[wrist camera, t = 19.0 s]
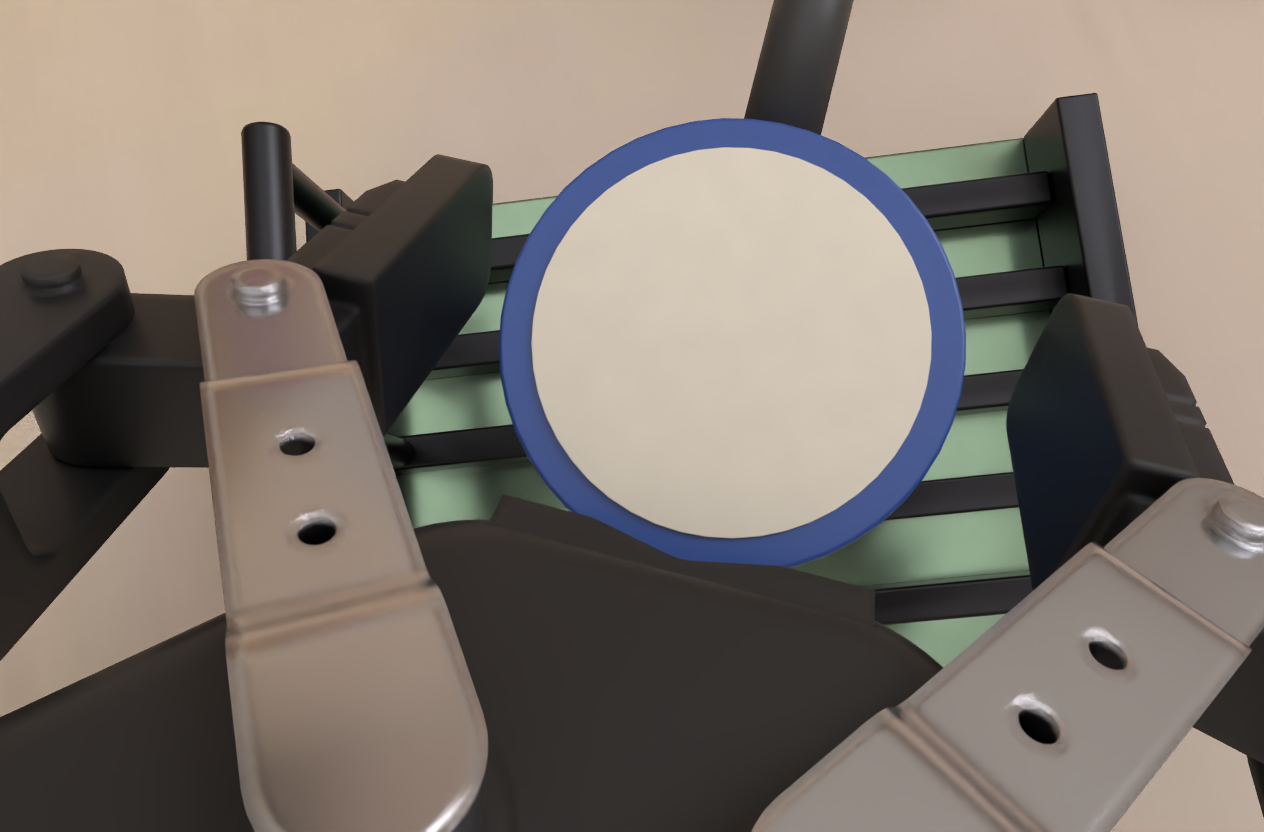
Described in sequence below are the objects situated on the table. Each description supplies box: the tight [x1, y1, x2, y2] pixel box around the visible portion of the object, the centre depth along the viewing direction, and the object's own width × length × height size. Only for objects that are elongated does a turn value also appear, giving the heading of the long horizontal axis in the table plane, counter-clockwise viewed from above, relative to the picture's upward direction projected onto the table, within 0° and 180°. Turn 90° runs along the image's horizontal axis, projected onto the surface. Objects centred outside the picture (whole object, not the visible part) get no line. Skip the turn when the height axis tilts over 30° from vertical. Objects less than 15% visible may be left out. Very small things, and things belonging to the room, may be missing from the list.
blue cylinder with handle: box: [499, 0, 966, 568], centre depth 14 cm, size 5×10×8 cm, turn 166°
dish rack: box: [241, 93, 1138, 668], centre depth 16 cm, size 16×11×7 cm
